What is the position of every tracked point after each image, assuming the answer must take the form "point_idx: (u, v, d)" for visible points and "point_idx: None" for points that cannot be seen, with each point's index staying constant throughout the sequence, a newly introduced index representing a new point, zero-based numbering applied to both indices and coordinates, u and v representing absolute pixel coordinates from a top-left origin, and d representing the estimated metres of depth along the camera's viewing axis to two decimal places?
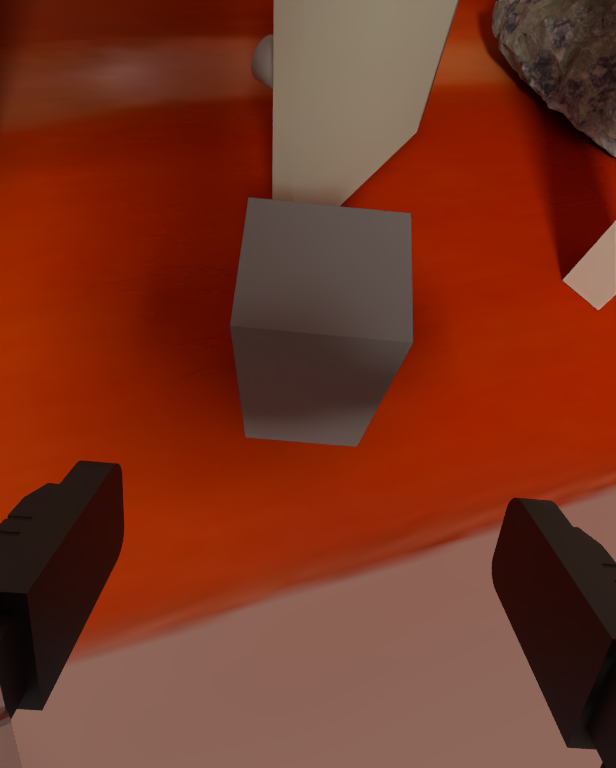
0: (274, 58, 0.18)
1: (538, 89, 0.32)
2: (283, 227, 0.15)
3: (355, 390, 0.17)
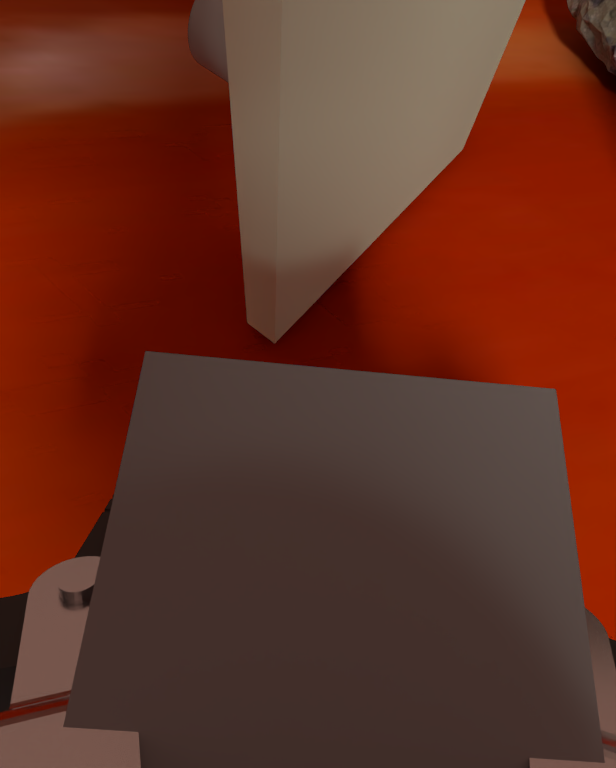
0: (227, 16, 0.08)
1: None
2: (231, 441, 0.06)
3: None
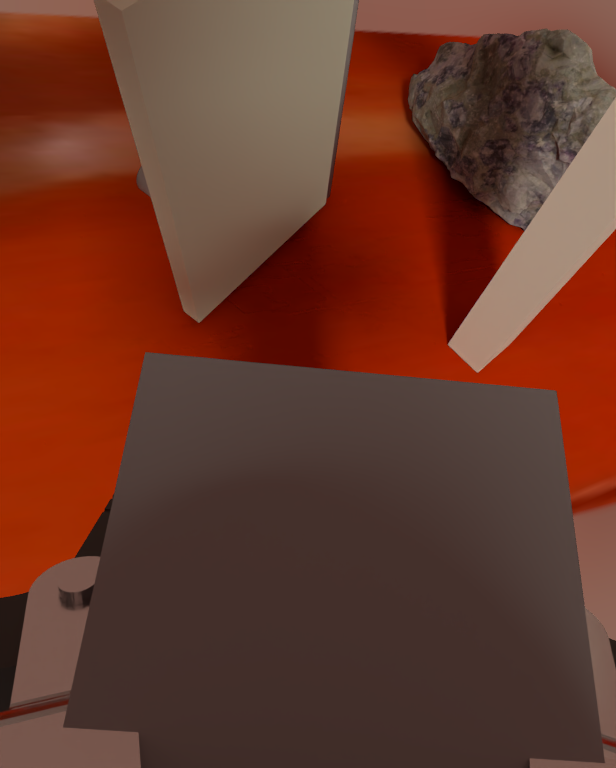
0: (148, 185, 0.21)
1: (443, 160, 0.35)
2: (231, 443, 0.06)
3: None
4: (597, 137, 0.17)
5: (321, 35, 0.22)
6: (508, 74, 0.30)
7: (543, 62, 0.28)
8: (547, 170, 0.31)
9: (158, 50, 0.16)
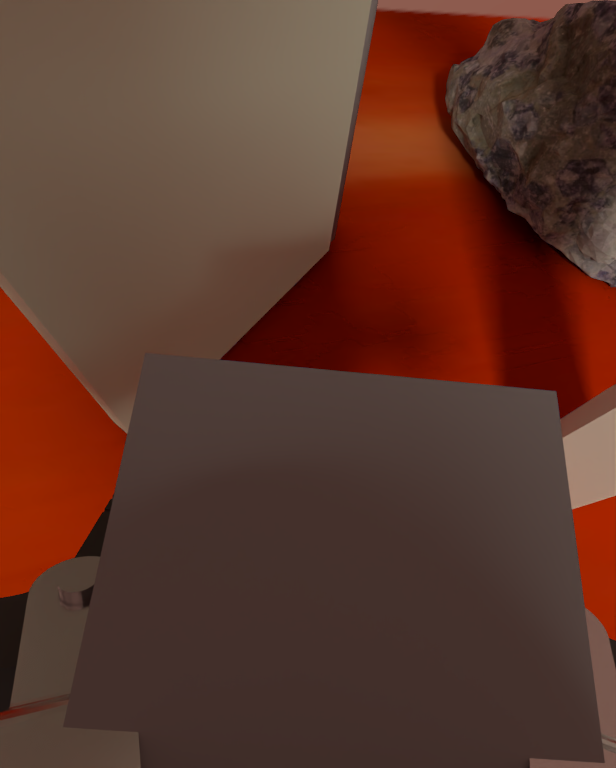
0: None
1: (496, 185, 0.25)
2: (230, 443, 0.06)
3: None
4: None
5: None
6: (610, 62, 0.19)
7: None
8: None
9: None
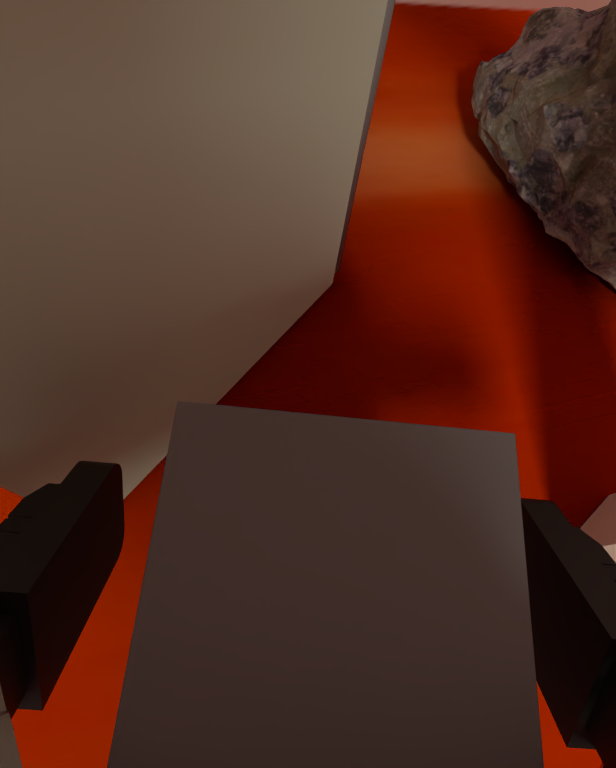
0: None
1: (532, 203, 0.21)
2: (247, 477, 0.07)
3: None
4: None
5: None
6: None
7: None
8: None
9: None
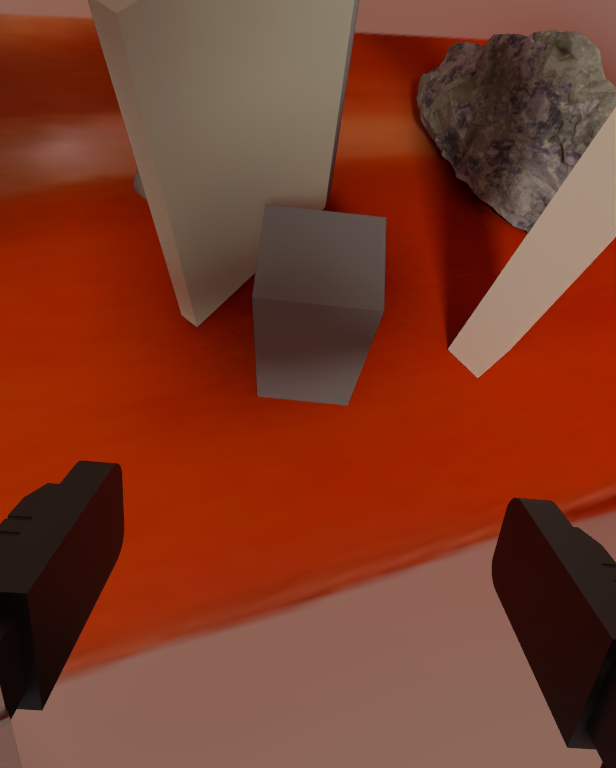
0: (145, 189, 0.21)
1: (449, 159, 0.35)
2: (291, 227, 0.21)
3: (343, 351, 0.23)
4: (600, 142, 0.17)
5: (320, 38, 0.22)
6: (515, 75, 0.29)
7: (551, 63, 0.28)
8: (551, 172, 0.31)
9: (154, 53, 0.16)
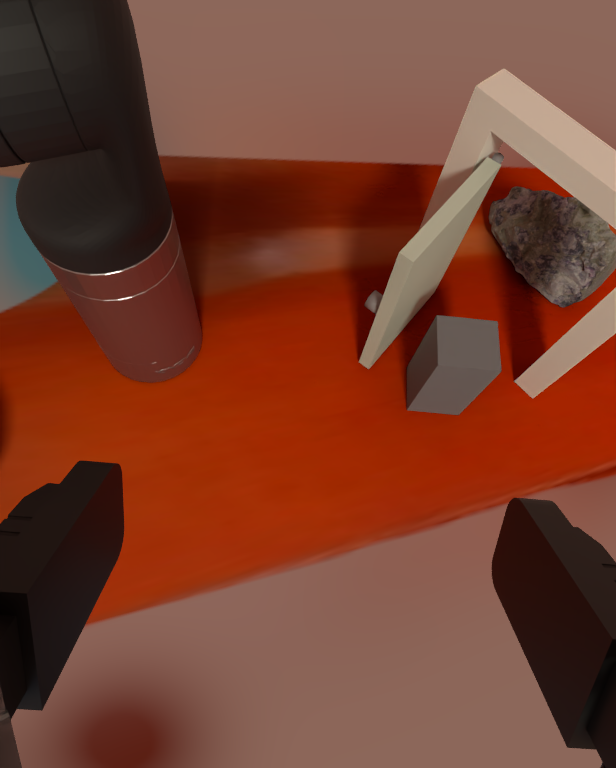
0: (378, 308, 0.42)
1: (510, 259, 0.56)
2: (451, 327, 0.42)
3: (471, 388, 0.44)
4: (606, 300, 0.38)
5: (462, 228, 0.43)
6: (556, 220, 0.50)
7: (577, 218, 0.49)
8: (576, 275, 0.52)
9: (415, 267, 0.36)
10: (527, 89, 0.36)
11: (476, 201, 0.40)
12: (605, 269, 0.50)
